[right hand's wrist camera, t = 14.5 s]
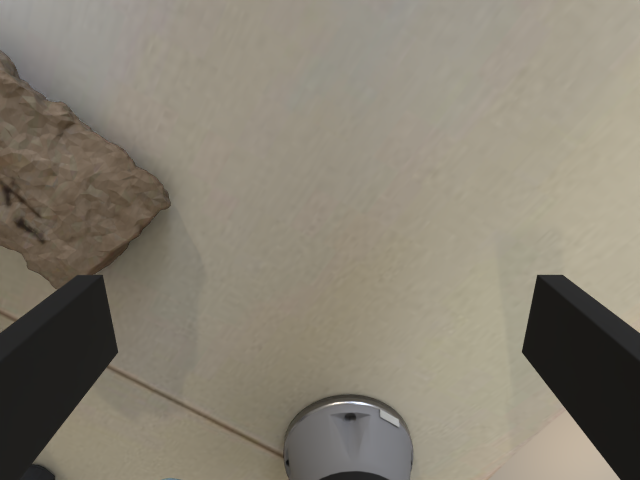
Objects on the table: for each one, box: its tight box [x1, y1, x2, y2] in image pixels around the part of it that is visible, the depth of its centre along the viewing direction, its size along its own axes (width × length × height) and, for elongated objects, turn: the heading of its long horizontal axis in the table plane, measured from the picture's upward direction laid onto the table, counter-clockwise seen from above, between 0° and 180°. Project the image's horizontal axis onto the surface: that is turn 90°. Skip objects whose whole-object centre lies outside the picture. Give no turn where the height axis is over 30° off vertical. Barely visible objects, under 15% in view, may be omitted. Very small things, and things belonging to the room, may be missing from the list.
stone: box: [0, 50, 171, 289], centre depth 35 cm, size 21×15×6 cm
